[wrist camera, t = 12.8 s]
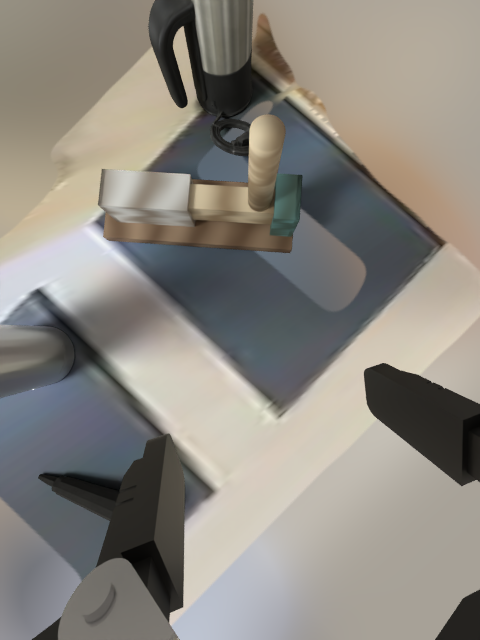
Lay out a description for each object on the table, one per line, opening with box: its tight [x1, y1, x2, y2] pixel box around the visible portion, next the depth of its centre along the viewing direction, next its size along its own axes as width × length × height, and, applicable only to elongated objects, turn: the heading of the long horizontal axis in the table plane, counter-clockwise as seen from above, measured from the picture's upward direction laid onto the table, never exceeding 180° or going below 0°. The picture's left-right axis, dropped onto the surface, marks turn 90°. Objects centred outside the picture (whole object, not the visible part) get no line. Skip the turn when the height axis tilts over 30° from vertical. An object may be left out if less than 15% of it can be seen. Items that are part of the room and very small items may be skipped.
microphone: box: [38, 474, 120, 521], centre depth 35 cm, size 6×6×20 cm
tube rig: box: [98, 169, 302, 253], centre depth 35 cm, size 29×10×7 cm, turn 86°
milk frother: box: [148, 0, 253, 156], centre depth 32 cm, size 14×16×15 cm
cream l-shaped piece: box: [188, 115, 285, 225], centre depth 29 cm, size 18×3×15 cm, turn 86°
